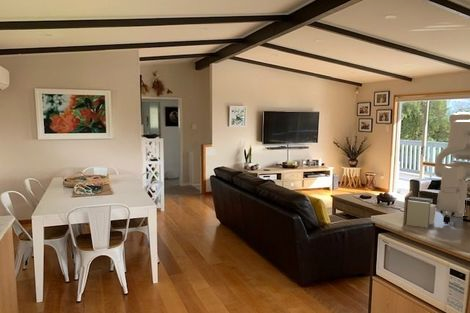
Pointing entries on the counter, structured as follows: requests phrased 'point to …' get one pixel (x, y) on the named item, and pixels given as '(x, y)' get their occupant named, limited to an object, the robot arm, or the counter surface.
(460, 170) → the robot arm
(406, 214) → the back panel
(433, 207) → the white cup
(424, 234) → the counter surface
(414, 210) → the book row
